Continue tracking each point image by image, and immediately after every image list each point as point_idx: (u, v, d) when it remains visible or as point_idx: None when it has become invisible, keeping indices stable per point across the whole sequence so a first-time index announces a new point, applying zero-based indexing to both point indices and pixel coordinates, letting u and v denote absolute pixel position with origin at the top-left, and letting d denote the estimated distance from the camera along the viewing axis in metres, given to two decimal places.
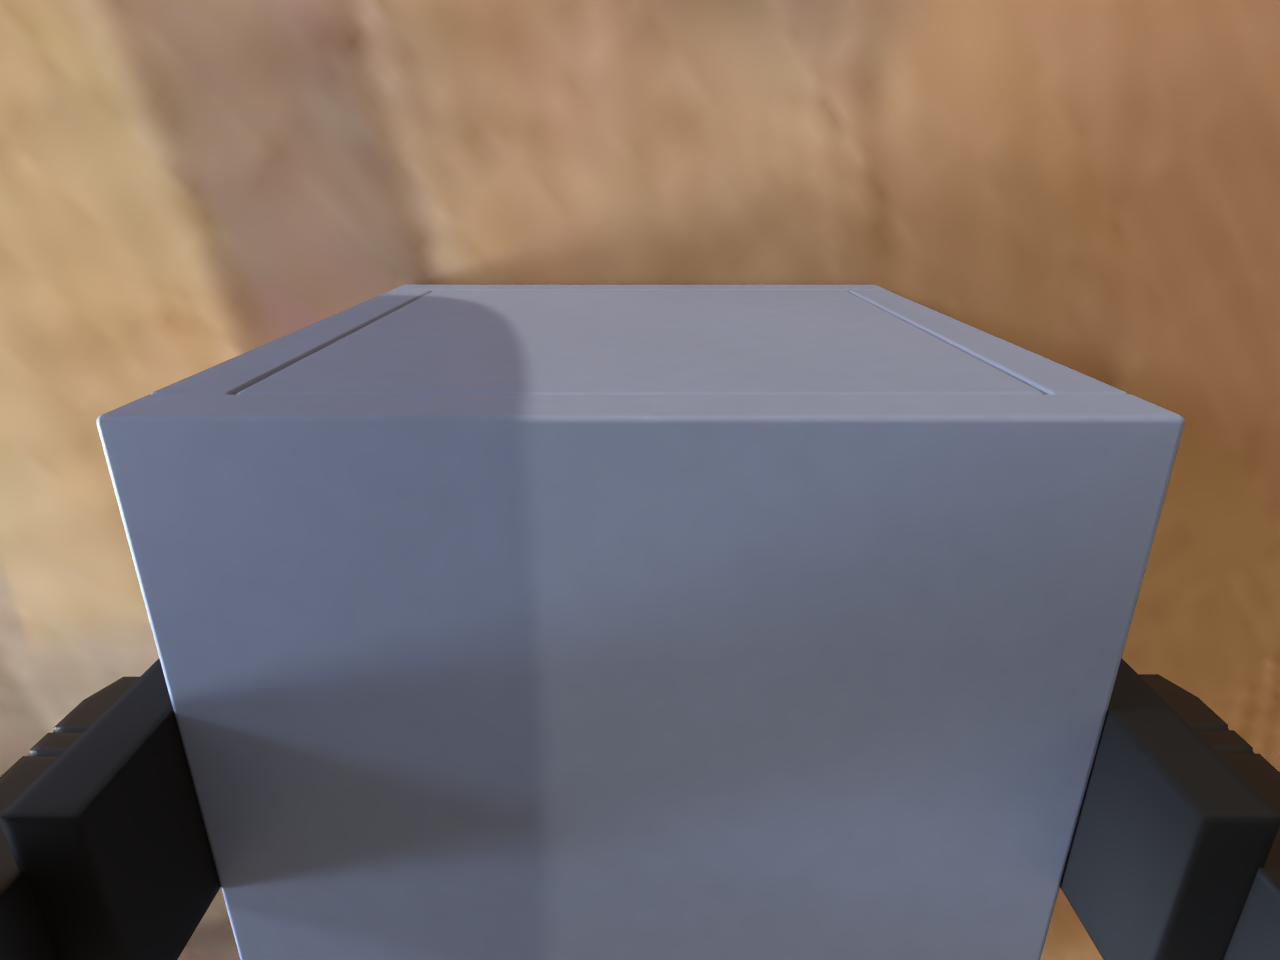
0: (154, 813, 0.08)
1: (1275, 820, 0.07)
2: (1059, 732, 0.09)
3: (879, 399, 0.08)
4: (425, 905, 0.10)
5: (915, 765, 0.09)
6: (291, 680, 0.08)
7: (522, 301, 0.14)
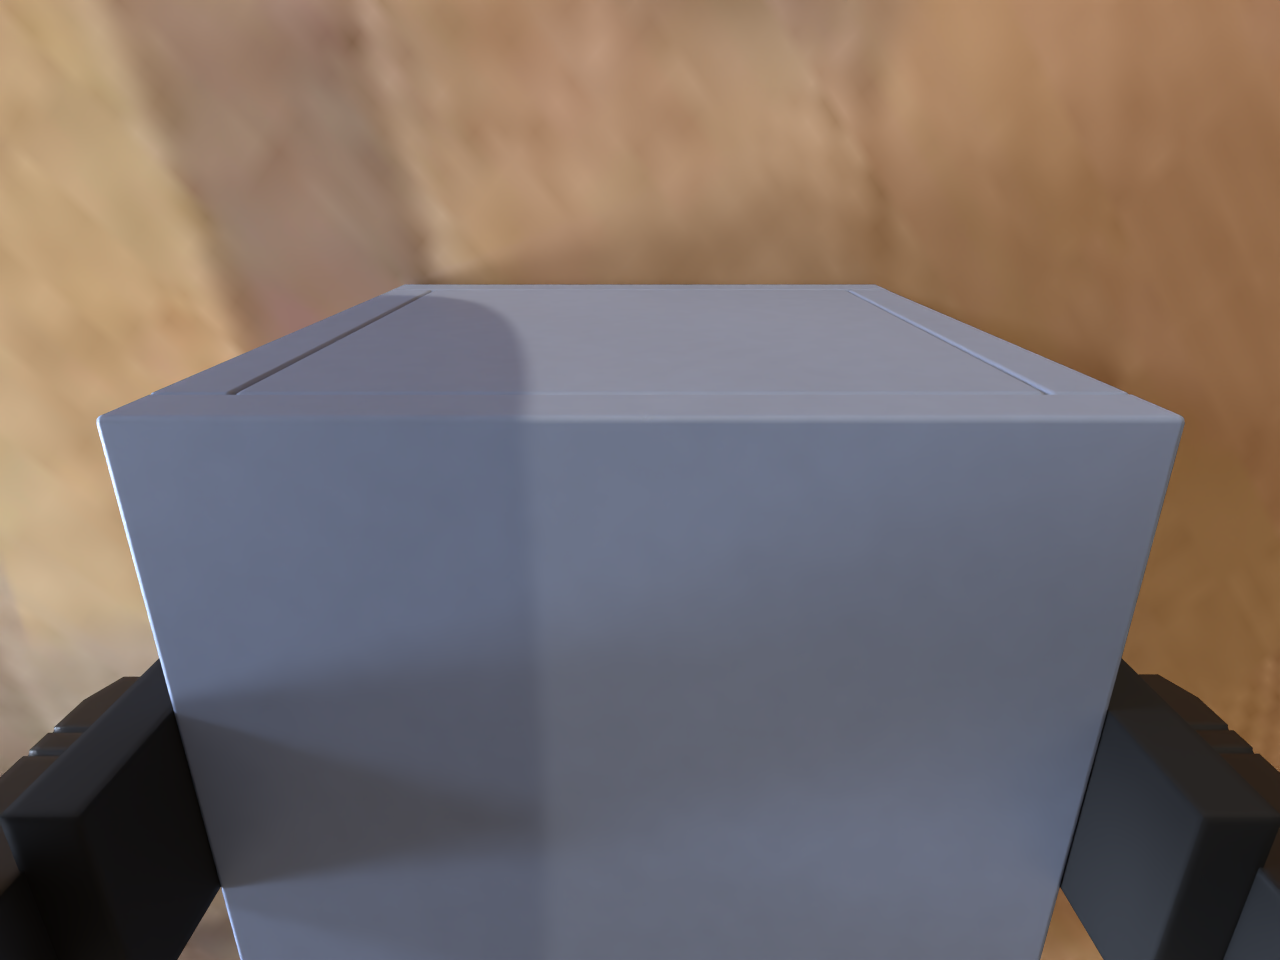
0: (155, 812, 0.08)
1: (1275, 820, 0.07)
2: (1059, 732, 0.09)
3: (880, 399, 0.08)
4: (426, 905, 0.10)
5: (915, 765, 0.09)
6: (291, 680, 0.08)
7: (522, 301, 0.14)
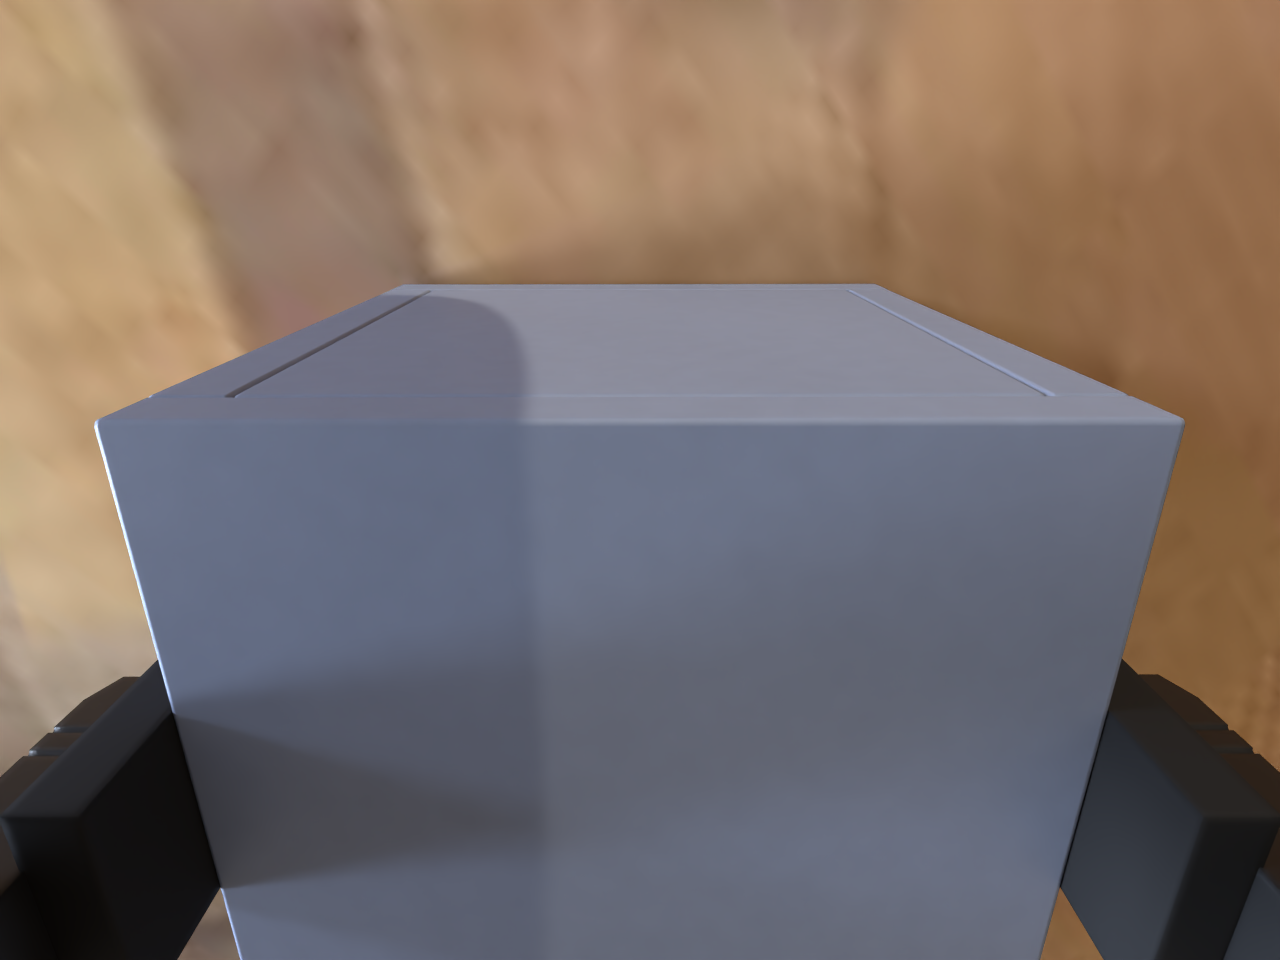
0: (154, 813, 0.08)
1: (1275, 820, 0.07)
2: (1059, 734, 0.09)
3: (879, 400, 0.08)
4: (425, 907, 0.10)
5: (915, 767, 0.09)
6: (290, 683, 0.08)
7: (521, 301, 0.14)
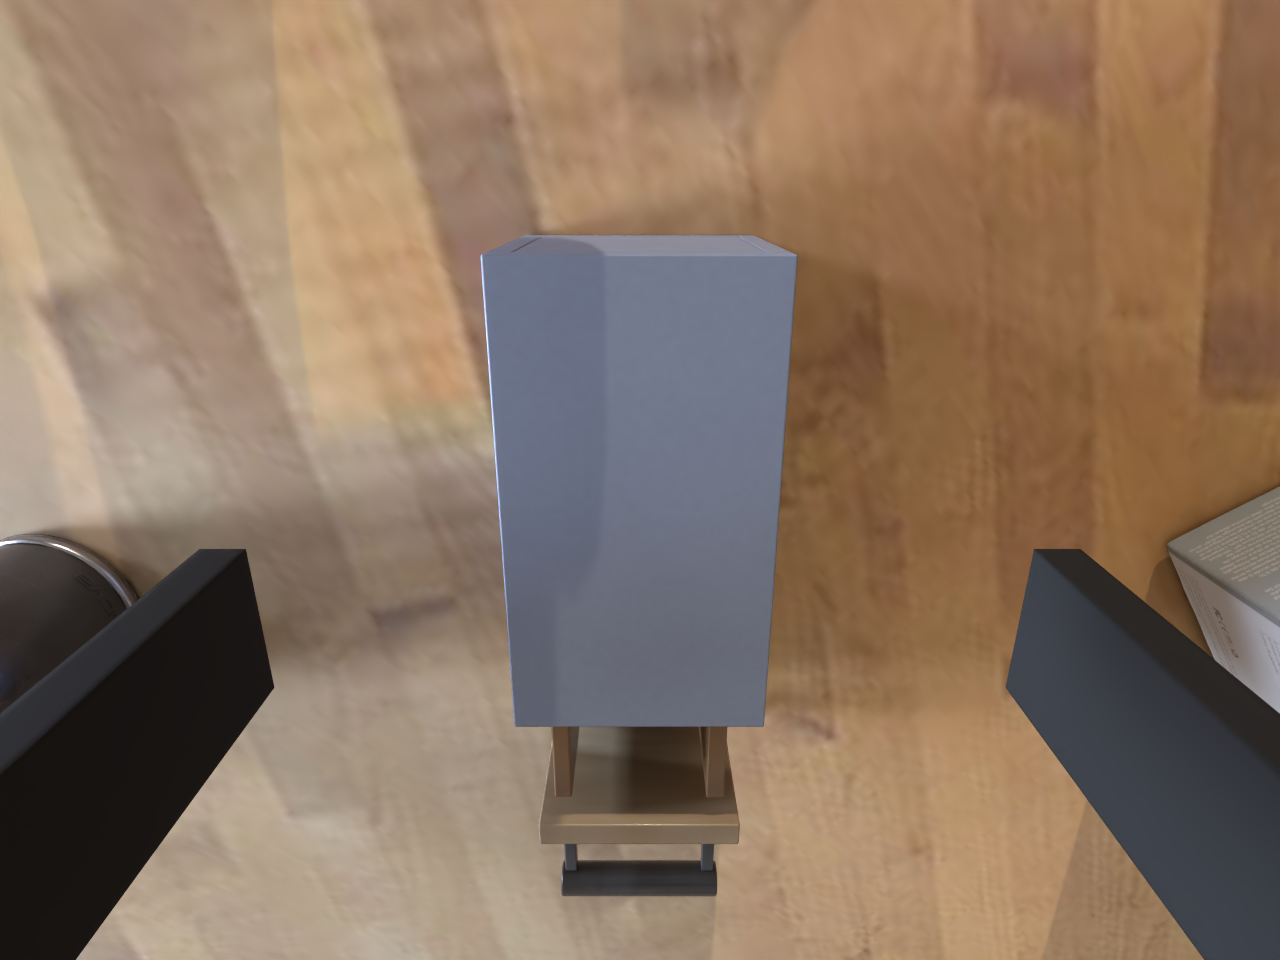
0: None
1: None
2: (775, 365, 0.27)
3: (712, 252, 0.26)
4: (564, 438, 0.28)
5: (729, 378, 0.27)
6: (528, 345, 0.26)
7: (587, 238, 0.33)
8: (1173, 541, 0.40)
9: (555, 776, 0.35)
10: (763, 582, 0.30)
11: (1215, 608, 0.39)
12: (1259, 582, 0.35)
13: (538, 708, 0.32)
